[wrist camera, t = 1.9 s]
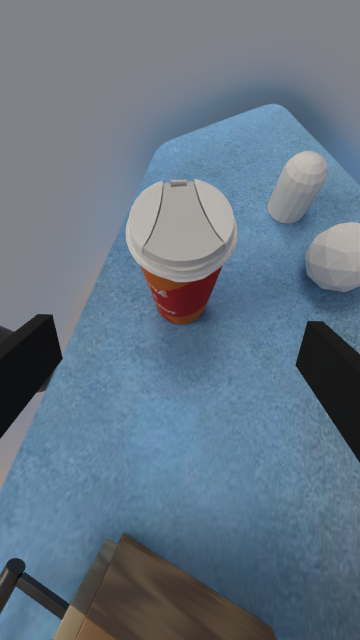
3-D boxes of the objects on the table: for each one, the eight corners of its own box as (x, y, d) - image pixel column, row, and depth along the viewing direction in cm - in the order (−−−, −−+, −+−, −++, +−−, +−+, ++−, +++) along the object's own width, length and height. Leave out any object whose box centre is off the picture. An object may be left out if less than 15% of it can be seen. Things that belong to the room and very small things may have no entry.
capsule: (259, 204, 36) (280, 151, 28) (287, 189, 37) (314, 133, 29) (283, 229, 34) (312, 180, 27) (311, 212, 35) (347, 160, 28)
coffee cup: (147, 275, 32) (121, 174, 18) (210, 271, 32) (233, 168, 18) (149, 337, 30) (120, 275, 15) (217, 332, 30) (251, 267, 15)
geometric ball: (303, 272, 35) (315, 213, 31) (370, 281, 32) (396, 215, 27) (293, 296, 30) (307, 228, 26) (372, 310, 26) (404, 234, 22)
